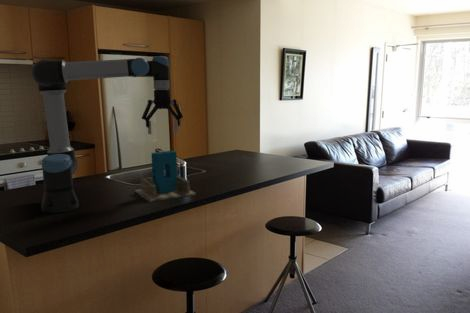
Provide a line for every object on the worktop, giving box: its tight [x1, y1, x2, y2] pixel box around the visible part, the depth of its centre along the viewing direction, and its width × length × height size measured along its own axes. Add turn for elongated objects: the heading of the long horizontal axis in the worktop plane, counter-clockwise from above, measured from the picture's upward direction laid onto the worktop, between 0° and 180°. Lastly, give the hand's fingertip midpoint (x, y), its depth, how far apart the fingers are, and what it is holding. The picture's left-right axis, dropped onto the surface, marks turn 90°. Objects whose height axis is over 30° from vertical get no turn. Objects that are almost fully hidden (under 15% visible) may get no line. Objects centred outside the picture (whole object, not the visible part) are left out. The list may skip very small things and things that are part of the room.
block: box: [151, 150, 178, 194], centre depth 200 cm, size 12×5×20 cm, turn 131°
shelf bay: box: [135, 175, 197, 203], centre depth 201 cm, size 24×22×7 cm
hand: (163, 133), depth 196 cm, fingers open, 13 cm apart
